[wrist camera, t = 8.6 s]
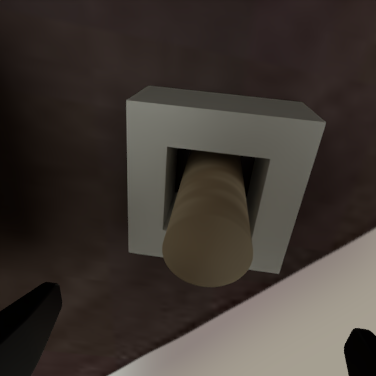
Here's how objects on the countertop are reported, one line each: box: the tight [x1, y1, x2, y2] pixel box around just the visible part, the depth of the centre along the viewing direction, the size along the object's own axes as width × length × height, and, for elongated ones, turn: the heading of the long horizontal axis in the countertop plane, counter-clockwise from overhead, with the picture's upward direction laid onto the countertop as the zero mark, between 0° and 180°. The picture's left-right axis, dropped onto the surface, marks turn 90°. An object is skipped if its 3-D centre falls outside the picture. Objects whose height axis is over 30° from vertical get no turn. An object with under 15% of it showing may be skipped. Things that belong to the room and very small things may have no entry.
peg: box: [162, 150, 253, 287], centre depth 15 cm, size 4×4×9 cm
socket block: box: [126, 86, 326, 274], centre depth 17 cm, size 9×9×4 cm
